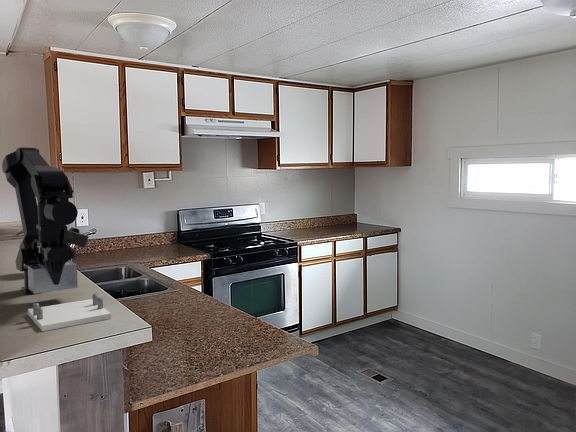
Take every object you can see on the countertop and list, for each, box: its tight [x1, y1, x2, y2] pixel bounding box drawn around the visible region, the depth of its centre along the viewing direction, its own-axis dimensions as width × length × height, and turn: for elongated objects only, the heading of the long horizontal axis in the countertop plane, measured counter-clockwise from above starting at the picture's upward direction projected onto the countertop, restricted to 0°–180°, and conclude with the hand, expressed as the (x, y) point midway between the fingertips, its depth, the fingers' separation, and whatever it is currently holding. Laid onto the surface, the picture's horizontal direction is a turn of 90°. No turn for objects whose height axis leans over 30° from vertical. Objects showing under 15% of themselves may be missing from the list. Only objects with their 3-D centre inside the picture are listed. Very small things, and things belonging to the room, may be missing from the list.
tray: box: [27, 293, 112, 332], centre depth 109 cm, size 14×14×4 cm
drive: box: [28, 260, 79, 294], centre depth 119 cm, size 6×10×6 cm, turn 130°
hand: (53, 282), depth 120 cm, fingers closed on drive, 6 cm apart
